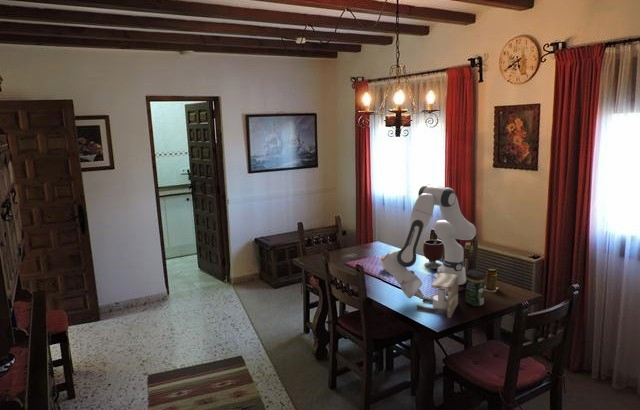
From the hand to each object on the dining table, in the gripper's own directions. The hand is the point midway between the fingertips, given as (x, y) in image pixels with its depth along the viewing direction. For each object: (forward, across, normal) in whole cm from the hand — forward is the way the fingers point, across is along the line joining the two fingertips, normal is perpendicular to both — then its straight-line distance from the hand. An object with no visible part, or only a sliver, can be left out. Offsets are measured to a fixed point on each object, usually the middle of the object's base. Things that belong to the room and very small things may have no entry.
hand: (422, 297), depth 240 cm
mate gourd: (-4, +71, +10) cm, 71 cm away
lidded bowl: (-22, +51, +28) cm, 62 cm away
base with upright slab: (+11, 0, -4) cm, 11 cm away
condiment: (+25, +40, -18) cm, 51 cm away
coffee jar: (+21, +14, -14) cm, 29 cm away
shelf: (+9, 0, -2) cm, 9 cm away
